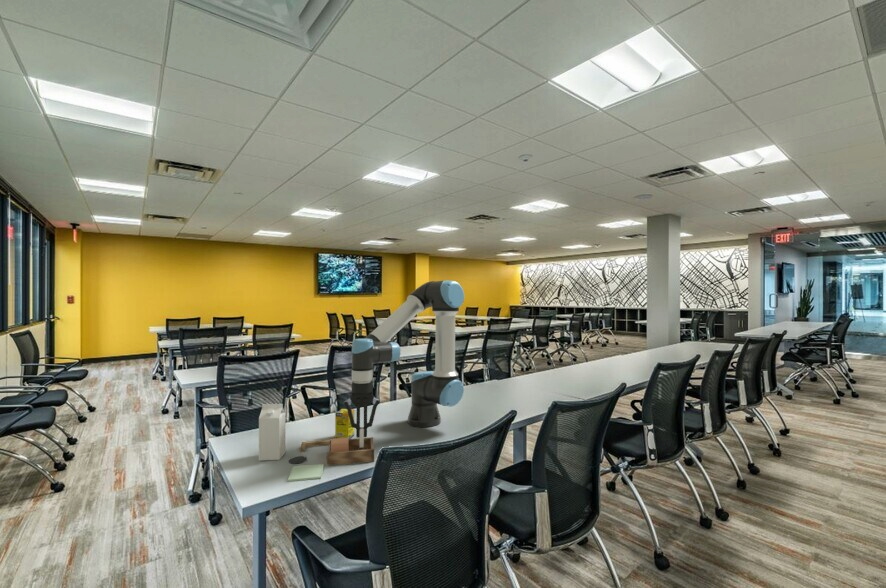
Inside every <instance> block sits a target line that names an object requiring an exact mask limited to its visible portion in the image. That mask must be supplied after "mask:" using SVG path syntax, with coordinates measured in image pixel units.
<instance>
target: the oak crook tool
mask: <svg viewBox="0 0 886 588" xmlns="http://www.w3.org/2000/svg"><path fill="white" fill-rule="evenodd" d="M330 440H331V439H324V440H323V439H321V440H309V441H302V442H301V444H300V447H299V451H300V453H302V452H306V449H307V448H312V447H322V446H323V447H324V446H330Z"/></svg>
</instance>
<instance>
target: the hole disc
mask: <svg viewBox="0 0 886 588" xmlns="http://www.w3.org/2000/svg"><path fill="white" fill-rule="evenodd" d="M307 460H308V459H307V457H306V456H303V455H302V456H301V455H299V456H293V457H290V459H289V458H288V463H289V464H292V465H298V464H302V463H304V462H306V461H307Z"/></svg>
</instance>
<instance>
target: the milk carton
mask: <svg viewBox="0 0 886 588" xmlns="http://www.w3.org/2000/svg"><path fill="white" fill-rule="evenodd" d="M283 405H284V404H283V403H268V404H265V403H264V404H263V403H262V407H261V411H260V412H259V413H260V414H259V417H258V461H279V460H281V458H282V457H283V456H284V454H286V410H285V408H284V407H283Z"/></svg>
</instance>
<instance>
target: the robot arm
mask: <svg viewBox="0 0 886 588" xmlns="http://www.w3.org/2000/svg"><path fill="white" fill-rule="evenodd" d="M464 302H465V292H464V289H463V287H462V286H461V284H460V282H457V281H455V280H437V281H434V280H432V281H431V280H430V281H427V282H425V283H423V284H421V285H420V286H418V287H417V288H416V289H415V290H413V291H412V292H411V293H410V294H409V295H408V296H406V300H405V301H404V302H403V303H402V304H401V305H400V306H399V307H398V308H397V309H396V310H395V311H393V312H392V313H391V314H390V315H389V316H388V317H387V318H386V319H384V320H383V321H382V322H381V323H380V324H379V325H378V326H377V327H376V328H374V330H373V331H371V332H370V333H369V334H368V335H366V337H364V338H355V339H353V340H352V344H351V381H352V382H351V394H350V396H349V398H348V399H346V400H344V402H343V404H344V406H345V409H347V410H348V415H349V419H350V423H351V427H352V428H354V429H355V431H356V432H355V433H356V435H355V436H356V439H357V438H360V446H359V448H361V447H364V438H368V428H371V427H372V426H373V422H374V420H375V415H376V410H377V408H378V406H379V405H380V399H379V398H376V397H375V396H374V393H373V385H374V384H373V374H374V373H373V371H374V370H373V366H374V364H375V365H376V364H382V363H383V364H384V363H392V362H395V361H398V360H399V359H400V357H401V351H402V350H401V346H400V345H399V343H397V342H395V341H390V340H391V339H392V338H393V337H395V335H396V334H398V332H400V330H401V329H403V328H405V326H406V325H407V324H409V322H410V321H412V319H413V318H415V316H416V315H418V314H419V313H420V314H421V313H424V311H425V310H426V309H428V308H432V309H431V311H432V313H433V314H434V315H435V348H434V349H435V353H434V354H435V355H434V356H435V358H434V359H435V361H434V362H435V366H434V368H435V370H427V371H426V370H425V371H418V372H417V371H416V372H414V373H413V374H412V375H411V381H410V386H411V407H410V410H409V412H408V417H407V424H408V425H409V426H412V427H417V428H429V427H434V426H438V425H440V424H441V420H442V418H441V414H440V410H439V408H438V405H441V406H443V407H449V408H450V407H454V406H456V405H458V404H459V403H460V401H461V400H462V399H463V396H464V391H465V387H464V384H463V382H462V381H461V380H459V372H458V371H456V315H458V313H459V312H460V311H459V310H460V309H459V308H460V307H462V305H463V303H464ZM371 403H372V404H373V405H372V408H371V411H370V417H369V421H368V407H369V406H370V404H371ZM352 404H353V405H354V406H355V407H356V419H355V417H354V418H353V414H352V410H351V409H352V407H351V405H352ZM361 408H363V426H361ZM355 420H356V423H355Z"/></svg>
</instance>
